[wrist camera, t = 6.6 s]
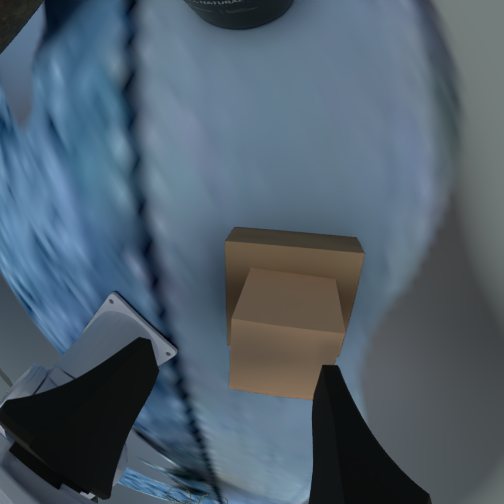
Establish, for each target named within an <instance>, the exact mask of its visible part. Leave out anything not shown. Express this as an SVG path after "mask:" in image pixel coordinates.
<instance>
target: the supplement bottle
mask: <svg viewBox="0 0 504 504" xmlns="http://www.w3.org/2000/svg"><path fill="white" fill-rule="evenodd" d="M183 1H184V2H185V3H186V4H187V5H188V6H189V7H190V8H191V9H192V10H193V11H194V12H195V13H196V14H197V15H198V16H200V17H201V18H202V19H204V20H205V21H207V22H209V23H211V24H213V25H217V26H220V27H225V28H249V27H254V26H258V25H261V24H264V23H267V22H269V21H271V20H273V19H275V18H276V17H278V16H279V15H281V14H282V13H283V12H284V11H285V10H286V9H287V8H288V7H289V6H290V5H291V3H292V1H293V0H183Z"/></svg>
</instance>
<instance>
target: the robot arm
mask: <svg viewBox="0 0 504 504" xmlns="http://www.w3.org/2000/svg"><path fill="white" fill-rule="evenodd" d="M112 300H113V301H112ZM176 354H177V349H176V348H175V347H174V346H173V345H172V344H171V343H170V342H168V341H167V340H166V339H165V338H164V337H163V336H162V335H160V334H159V333H158V332H157V331H156V330H155V329H154V328H153V327H152V326H150V325H149V324H148V323H147V322H146V321H145V320H144V319H143V318H142V317H141V316H140V315H139V314H138V313H137V312H135V311H134V310H133V309H132V308H131V307H130V306H129V305H128V304H127V303H126V302H125V301H124V300H123V299H122V298H121V297H120V296H119V295H118V294H117V293H115V292H112V293H111V294H110V295H109V296H108V298H107V299H106V300H105V302H104V303H103V304H102V306H101V307H100V308H99V310H98V311H97V313H96V314H95V315H94V317H93V318H92V319H91V321H90V322H89V324H88V325H87V327H86V328H85V329H84V331H83V332H82V334H81V336H80V337H79V338H78V339H77V340H76V341H75V342H74V343H73V344H72V345H71V346H70V348H69V349H68V350H67V351H66V352H65V353H64V354H63V355H62V357H61V358H60V359H59V360H58V361H57V362H56V363H55V365H54V366H53V367H52V368H51V369H50V370H48V371H47V369H46V368H45V367H44V366H43V365H41V366H37V365H33V366H32V367H30V368H29V369H28V370H27V371H26V372H25V373H24V374H23V375H22V376H21V377H20V378H19V379H18V380H17V381H16V382H15V384H14V385H13V386H12V387H11V388H10V389H9V391H8V392H7V393H6V394H5V396H4V397H3V398H2V399H1V401H0V504H97V503H95V502H94V501H92V500H90V499H92V498H93V497H94V496H97V497H99V498H101V499H103V500H105V499H109V498H110V496H111V490H112V487H113V486H114V485H115V484H116V483H117V482H118V481H119V479H120V478H121V477H122V475H123V473H124V471H125V469H126V466H127V461H128V449H127V445H126V443H125V442H126V439H127V437H128V434H129V432H130V430H131V428H132V426H133V424H134V422H135V420H136V418H137V416H138V415H139V413H140V411H141V409H142V407H143V406H144V404H145V402H146V400H147V398H148V396H149V395H150V393H151V391H152V389H153V386H154V384H155V381H156V378H157V376H158V373H159V369H158V366H160V365H161V364H163V363H164V362H166V361H167V360H169V359H170V358H172V357H174V356H175V355H176ZM312 436H313V473H312V482H311V490H310V498H309V504H432V503H431V499H430V495H429V494H428V493H427V492H426V491H424V490H423V489H422V488H421V487H419V486H418V485H417V484H416V483H415V482H414V481H412V480H411V479H410V478H409V477H408V476H407V475H406V474H405V473H404V472H403V471H402V470H401V469H400V468H399V467H398V466H397V464H396V463H395V462H394V461H393V460H392V459H391V458H390V457H389V455H388V454H387V453H386V452H385V450H384V449H383V448H382V447H381V445H380V444H379V443H378V441H377V440H376V438H375V437H374V435H373V434H372V432H371V431H370V429H369V428H368V426H367V424H366V423H365V421H364V419H363V418H362V416H361V414H360V412H359V410H358V408H357V406H356V404H355V402H354V401H353V399H352V397H351V394H350V392H349V390H348V388H347V386H346V383H345V381H344V379H343V376H342V374H341V371H340V368H339V367H338V366H337V365H322V368H321V371H320V375H319V378H318V381H317V385H316V388H315V391H314V394H313V406H312Z"/></svg>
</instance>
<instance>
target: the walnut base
mask: <svg viewBox="0 0 504 504" xmlns="http://www.w3.org/2000/svg"><path fill="white" fill-rule="evenodd" d="M364 254H365V253H364V251H363V249H362V247H361V245H360V243H359V241H358V239H357V238H356V237H346V236H336V235H325V234H314V233H303V232H292V231H280V230H268V229H255V228H242V227H234V229H233V230H232V232H231V233H230V234H229V236H228V237H227V239H226V240H225V274H226V315H227V344H228V346H231V320H232V316H233V313H234V311H235V308H236V305H237V303H238V300H239V298H240V295H241V292H242V290H243V287H244V284H245V282H246V279H247V276H248V274H249V271H250V268H258V269H265V270H272V271H280V272H287V273H294V274H302V275H310V276H317V277H325V278H333V279H335V280H336V285H337V290H338V295H339V300H340V306H341V311H342V317H343V323H344V329H345V334H346V331H347V327H348V323H349V320H350V316H351V312H352V308H353V304H354V300H355V296H356V292H357V287H358V283H359V279H360V274H361V269H362V264H363V259H364ZM344 338H345V336H344ZM343 341H344V339H343ZM342 345H343V342H342V344H341V347H340V350H339V353H338V356H337V357H339V355H340V351H341V348H342Z"/></svg>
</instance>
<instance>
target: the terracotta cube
mask: <svg viewBox="0 0 504 504" xmlns="http://www.w3.org/2000/svg"><path fill="white" fill-rule="evenodd" d="M344 336H345V329H344V323H343V317H342V311H341V306H340V300H339V295H338V290H337V285H336V280H335V279H333V278H325V277H317V276H310V275H302V274H294V273H287V272H280V271H272V270H265V269H258V268H250V271H249V274H248V276H247V279H246V282H245V284H244V287H243V290H242V292H241V295H240V298H239V300H238V303H237V305H236V308H235V311H234V313H233V316H232V320H231V348H230V380H229V388H231V389H236V390H241V391H247V392H253V393H259V394H266V395H273V396H281V397H289V398H298V399H308V400H313V394H314V391H315V388H316V385H317V381H318V378H319V375H320V371H321V368H322V365H334V364H335V361H336V358H337V356H338V353H339V350H340V347H341V344H342V342H343V339H344Z"/></svg>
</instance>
